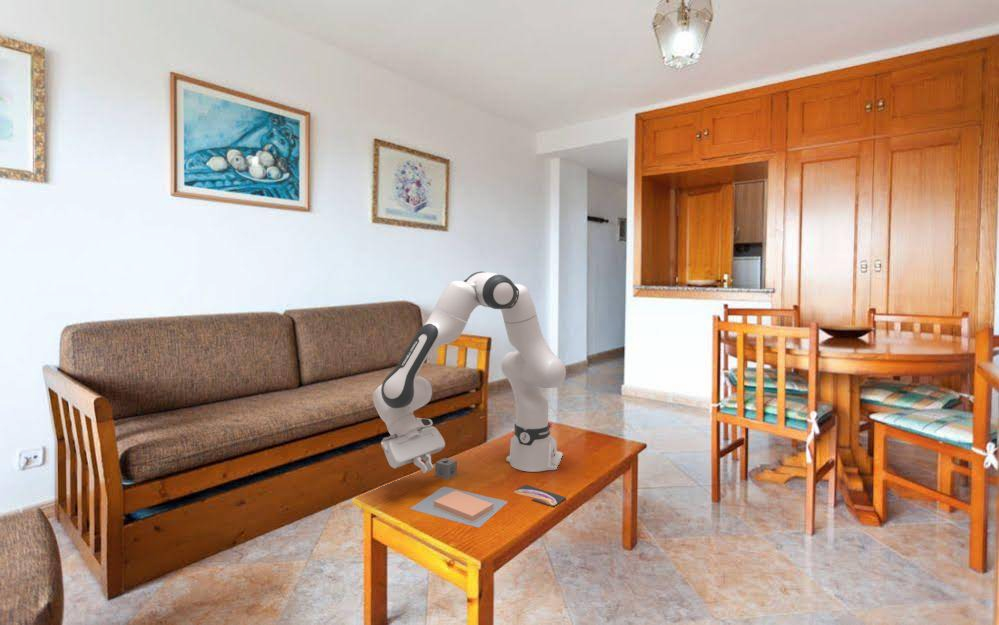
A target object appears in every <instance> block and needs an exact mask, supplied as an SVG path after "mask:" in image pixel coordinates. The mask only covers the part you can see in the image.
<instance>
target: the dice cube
mask: <svg viewBox="0 0 999 625" xmlns="http://www.w3.org/2000/svg"><path fill="white" fill-rule="evenodd" d="M457 474H458V460H456V459H451V458H446V457H442V459H439V460H438V461H435V462H434V476H435V477H437V478H441V479H444V480H450V479H451V478H453V477H455V476H456V475H457Z"/></svg>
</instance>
